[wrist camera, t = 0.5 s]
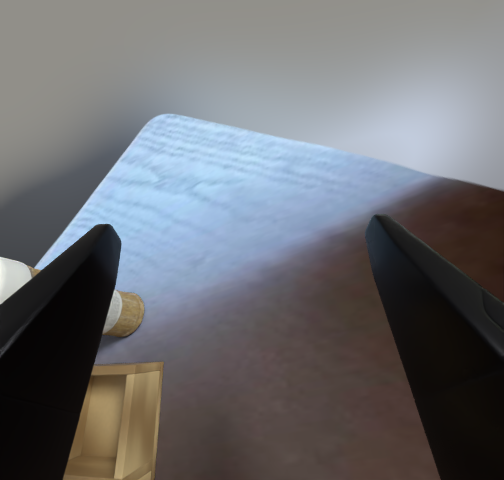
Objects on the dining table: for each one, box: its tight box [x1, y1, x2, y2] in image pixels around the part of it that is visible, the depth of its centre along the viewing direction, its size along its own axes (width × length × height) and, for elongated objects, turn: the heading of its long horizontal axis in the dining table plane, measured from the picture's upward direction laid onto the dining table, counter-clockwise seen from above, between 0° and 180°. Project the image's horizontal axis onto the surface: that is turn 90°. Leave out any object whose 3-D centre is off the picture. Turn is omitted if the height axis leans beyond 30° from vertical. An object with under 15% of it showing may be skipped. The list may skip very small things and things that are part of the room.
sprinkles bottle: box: [0, 257, 144, 337], centre depth 21 cm, size 5×5×14 cm
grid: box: [63, 362, 164, 480], centre depth 21 cm, size 15×15×4 cm
